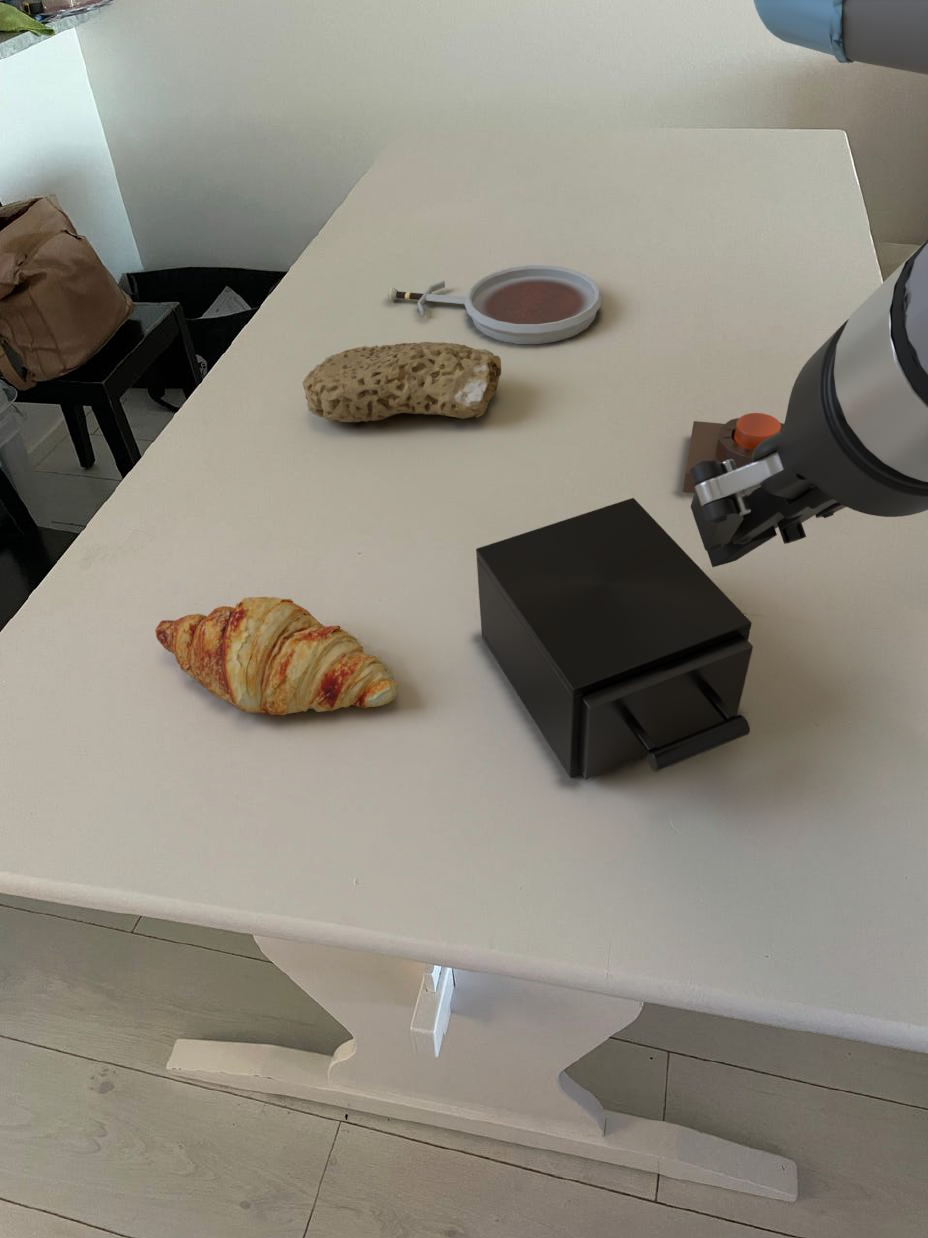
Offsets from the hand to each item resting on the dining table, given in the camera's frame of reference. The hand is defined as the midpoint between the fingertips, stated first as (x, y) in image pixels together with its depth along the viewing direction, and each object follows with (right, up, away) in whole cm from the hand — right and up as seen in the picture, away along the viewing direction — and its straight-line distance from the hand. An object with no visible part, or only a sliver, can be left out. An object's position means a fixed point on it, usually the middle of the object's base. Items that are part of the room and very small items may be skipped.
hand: (716, 542), depth 55 cm
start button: (+12, +12, +32) cm, 37 cm away
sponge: (-22, +18, +46) cm, 54 cm away
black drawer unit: (-4, -9, +17) cm, 20 cm away
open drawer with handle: (-3, -11, +14) cm, 18 cm away
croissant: (-30, -10, +19) cm, 37 cm away
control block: (+13, +10, +35) cm, 38 cm away
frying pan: (-12, +34, +62) cm, 72 cm away
